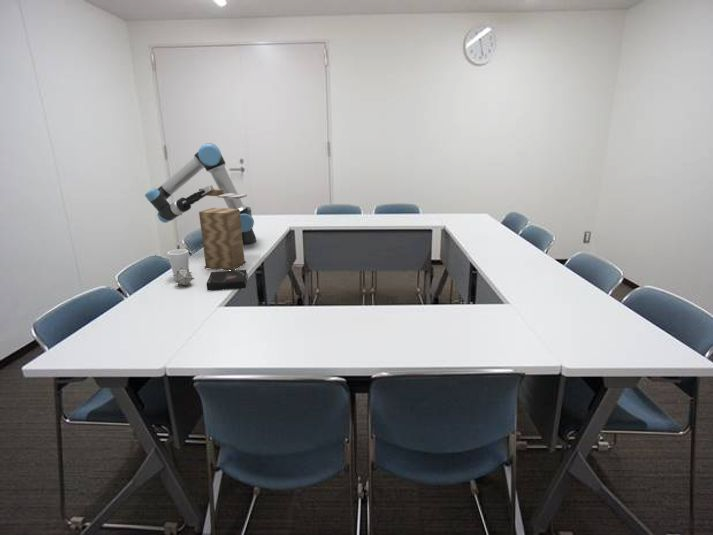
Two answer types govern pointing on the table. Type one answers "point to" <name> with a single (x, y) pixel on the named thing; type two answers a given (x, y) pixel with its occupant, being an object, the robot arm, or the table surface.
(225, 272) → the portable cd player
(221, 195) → the turner
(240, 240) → the brown patterned box
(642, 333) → the table surface
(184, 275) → the grey spiky ball
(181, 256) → the foam cup
